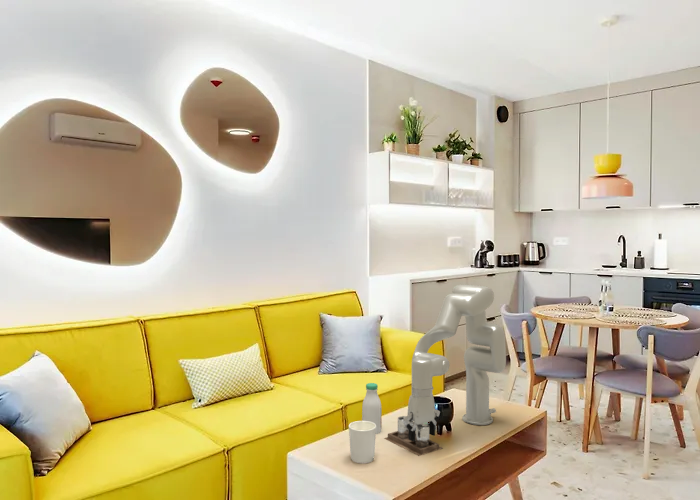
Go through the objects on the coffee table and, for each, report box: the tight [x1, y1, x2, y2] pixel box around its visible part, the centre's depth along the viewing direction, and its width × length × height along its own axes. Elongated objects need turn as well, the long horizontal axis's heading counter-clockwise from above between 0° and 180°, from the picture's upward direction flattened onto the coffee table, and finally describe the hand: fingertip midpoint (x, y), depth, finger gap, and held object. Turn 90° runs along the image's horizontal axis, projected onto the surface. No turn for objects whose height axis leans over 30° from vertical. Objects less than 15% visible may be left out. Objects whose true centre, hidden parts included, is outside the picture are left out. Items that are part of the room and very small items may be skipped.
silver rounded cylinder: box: [415, 423, 430, 448], centre depth 200 cm, size 5×5×9 cm
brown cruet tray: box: [383, 430, 444, 457], centre depth 204 cm, size 12×20×3 cm, turn 35°
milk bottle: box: [361, 382, 383, 435], centre depth 216 cm, size 8×8×20 cm
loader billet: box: [397, 415, 409, 440], centre depth 208 cm, size 5×5×9 cm
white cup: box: [348, 420, 377, 464], centre depth 193 cm, size 10×10×12 cm
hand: (421, 437), depth 200 cm, fingers open, 9 cm apart
